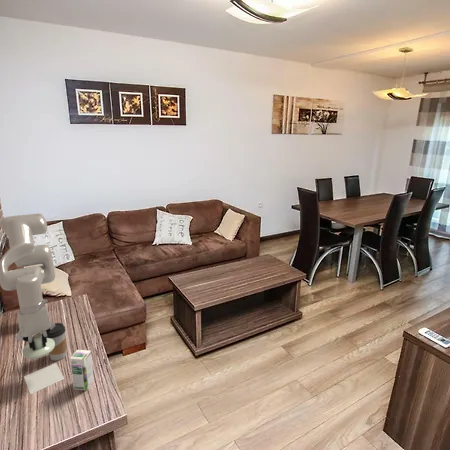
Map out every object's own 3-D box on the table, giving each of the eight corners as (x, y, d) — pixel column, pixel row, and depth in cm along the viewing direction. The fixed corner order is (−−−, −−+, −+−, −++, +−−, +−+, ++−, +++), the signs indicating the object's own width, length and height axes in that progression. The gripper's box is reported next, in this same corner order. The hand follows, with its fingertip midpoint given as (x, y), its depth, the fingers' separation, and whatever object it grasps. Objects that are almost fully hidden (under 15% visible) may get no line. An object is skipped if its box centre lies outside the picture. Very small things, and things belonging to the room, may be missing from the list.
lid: (20, 347, 121) (17, 335, 119) (50, 336, 128) (48, 324, 126) (26, 363, 113) (23, 350, 111) (58, 350, 120) (56, 337, 118)
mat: (23, 377, 124) (23, 376, 124) (56, 363, 132) (56, 362, 132) (30, 395, 115) (30, 394, 115) (64, 379, 123) (64, 378, 123)
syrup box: (73, 390, 118) (68, 358, 114) (81, 378, 124) (77, 348, 120) (87, 391, 118) (83, 360, 114) (94, 379, 124) (91, 349, 120)
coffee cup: (60, 364, 131) (55, 335, 127) (43, 361, 133) (38, 332, 129) (73, 352, 139) (69, 323, 135) (57, 349, 140) (52, 321, 136)
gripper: (53, 295, 123) (58, 333, 128) (4, 309, 112) (12, 350, 117) (58, 303, 117) (64, 342, 123) (7, 319, 107) (16, 361, 112)
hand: (38, 346), depth 120 cm, fingers closed on lid, 3 cm apart
